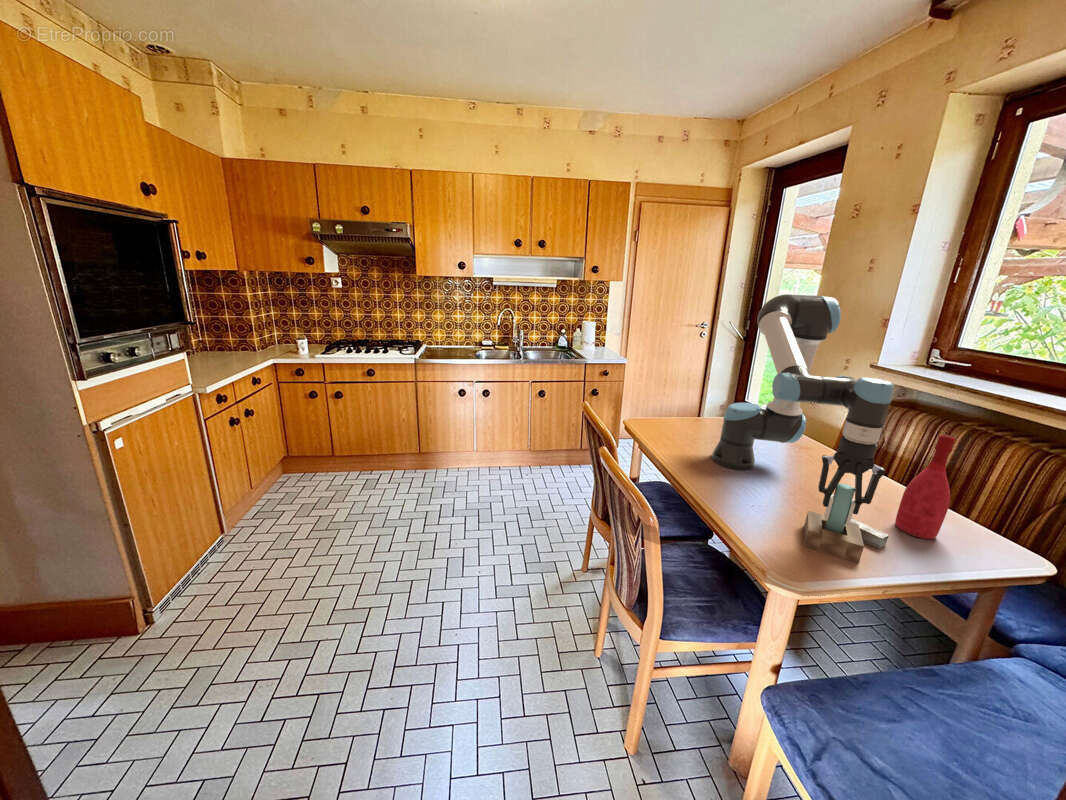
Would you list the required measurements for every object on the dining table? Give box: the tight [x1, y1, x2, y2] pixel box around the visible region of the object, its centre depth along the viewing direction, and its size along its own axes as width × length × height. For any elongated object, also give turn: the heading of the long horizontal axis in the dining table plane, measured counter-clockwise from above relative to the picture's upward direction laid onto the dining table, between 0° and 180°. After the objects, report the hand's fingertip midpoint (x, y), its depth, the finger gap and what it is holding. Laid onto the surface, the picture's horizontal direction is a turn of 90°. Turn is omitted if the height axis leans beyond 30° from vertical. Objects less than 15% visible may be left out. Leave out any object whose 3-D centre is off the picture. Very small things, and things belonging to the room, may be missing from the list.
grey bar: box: [850, 517, 890, 550], centre depth 120 cm, size 10×4×4 cm, turn 29°
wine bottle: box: [894, 434, 956, 540], centre depth 121 cm, size 10×10×30 cm
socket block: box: [803, 510, 865, 564], centre depth 116 cm, size 12×12×5 cm
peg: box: [825, 483, 855, 534], centre depth 114 cm, size 4×4×14 cm
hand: (836, 520), depth 114 cm, fingers closed on peg, 4 cm apart
